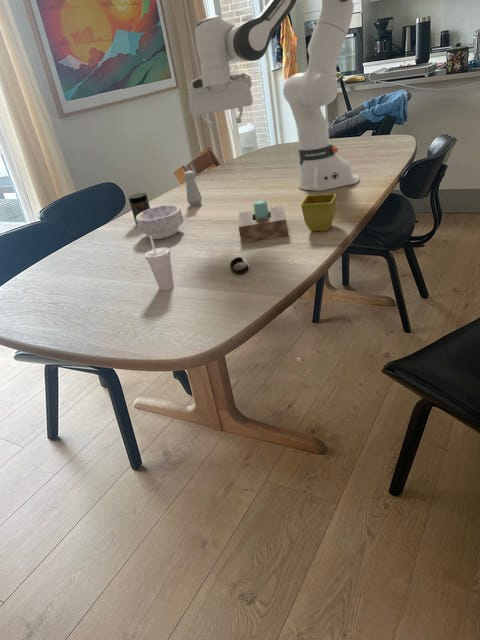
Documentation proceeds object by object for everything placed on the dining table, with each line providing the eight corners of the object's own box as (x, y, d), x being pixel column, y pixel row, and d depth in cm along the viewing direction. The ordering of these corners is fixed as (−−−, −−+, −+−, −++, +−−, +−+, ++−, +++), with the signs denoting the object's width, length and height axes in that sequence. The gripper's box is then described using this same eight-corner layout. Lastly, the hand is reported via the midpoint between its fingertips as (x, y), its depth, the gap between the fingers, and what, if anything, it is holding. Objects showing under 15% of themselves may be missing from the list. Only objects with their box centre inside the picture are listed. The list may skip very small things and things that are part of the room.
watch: (253, 273, 120) (251, 260, 118) (236, 278, 119) (233, 265, 117) (244, 263, 126) (242, 251, 125) (227, 268, 125) (225, 255, 124)
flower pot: (338, 222, 141) (336, 193, 137) (334, 233, 134) (331, 202, 130) (309, 224, 144) (306, 195, 140) (303, 234, 137) (300, 204, 133)
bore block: (285, 221, 151) (283, 205, 148) (288, 235, 138) (286, 219, 136) (241, 227, 152) (239, 212, 150) (241, 243, 140) (238, 226, 137)
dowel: (269, 225, 146) (266, 200, 142) (270, 229, 143) (267, 203, 139) (257, 227, 147) (253, 202, 143) (257, 231, 143) (253, 205, 139)
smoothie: (155, 284, 124) (141, 233, 117) (179, 279, 124) (166, 229, 117) (153, 294, 118) (138, 242, 111) (178, 290, 118) (165, 237, 111)
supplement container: (152, 218, 179) (145, 191, 174) (155, 223, 173) (147, 195, 168) (135, 223, 178) (127, 195, 173) (136, 227, 172) (129, 199, 167)
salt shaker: (200, 206, 183) (193, 172, 176) (186, 207, 184) (179, 174, 178) (204, 201, 188) (197, 168, 181) (191, 203, 189) (183, 170, 183)
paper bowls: (149, 246, 151) (142, 223, 147) (136, 236, 163) (129, 213, 160) (192, 232, 156) (187, 209, 152) (176, 223, 168) (171, 201, 165)
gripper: (250, 71, 148) (256, 118, 154) (186, 83, 150) (195, 129, 156) (250, 72, 142) (256, 121, 149) (184, 84, 144) (193, 132, 151)
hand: (224, 125), depth 153 cm, fingers open, 8 cm apart
